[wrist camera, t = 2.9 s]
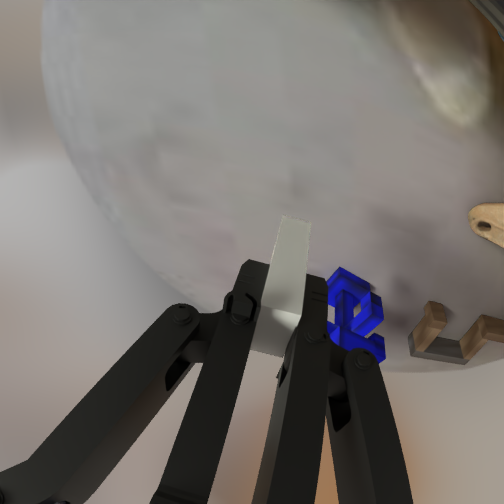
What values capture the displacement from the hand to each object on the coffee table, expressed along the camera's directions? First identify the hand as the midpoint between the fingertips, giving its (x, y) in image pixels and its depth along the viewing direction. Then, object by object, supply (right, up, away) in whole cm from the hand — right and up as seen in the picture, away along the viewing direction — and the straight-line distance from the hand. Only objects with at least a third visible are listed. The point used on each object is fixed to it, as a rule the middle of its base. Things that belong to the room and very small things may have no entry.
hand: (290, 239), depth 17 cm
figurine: (+8, -4, +16) cm, 19 cm away
